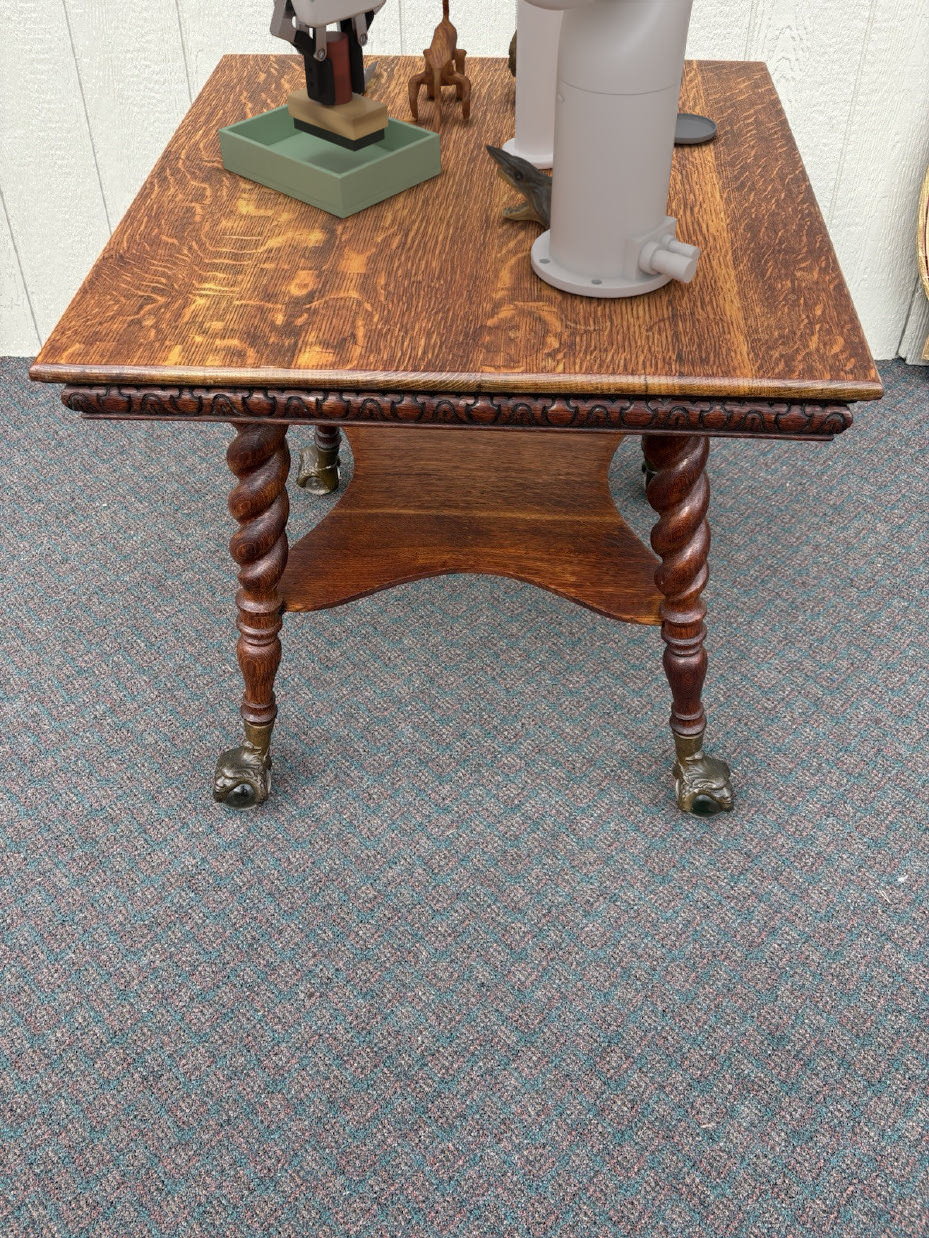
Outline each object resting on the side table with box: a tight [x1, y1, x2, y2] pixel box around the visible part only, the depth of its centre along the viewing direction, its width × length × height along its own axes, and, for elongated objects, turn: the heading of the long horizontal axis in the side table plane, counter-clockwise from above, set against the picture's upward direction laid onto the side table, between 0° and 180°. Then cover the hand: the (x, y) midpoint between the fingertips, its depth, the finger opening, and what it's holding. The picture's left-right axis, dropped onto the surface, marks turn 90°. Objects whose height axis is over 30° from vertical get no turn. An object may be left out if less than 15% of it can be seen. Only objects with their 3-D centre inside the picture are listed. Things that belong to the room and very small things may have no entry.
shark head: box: [484, 144, 552, 232], centre depth 101 cm, size 8×6×7 cm
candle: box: [501, 0, 564, 170], centre depth 106 cm, size 7×7×25 cm
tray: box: [217, 102, 442, 219], centre depth 111 cm, size 17×13×4 cm
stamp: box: [286, 30, 389, 152], centre depth 106 cm, size 9×4×9 cm, turn 48°
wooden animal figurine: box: [407, 0, 472, 134], centre depth 117 cm, size 18×7×14 cm, turn 176°
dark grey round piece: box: [674, 74, 718, 145], centre depth 115 cm, size 8×8×10 cm
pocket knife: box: [352, 60, 378, 96], centre depth 127 cm, size 14×1×2 cm, turn 169°
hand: (336, 94), depth 106 cm, fingers closed on stamp, 3 cm apart
